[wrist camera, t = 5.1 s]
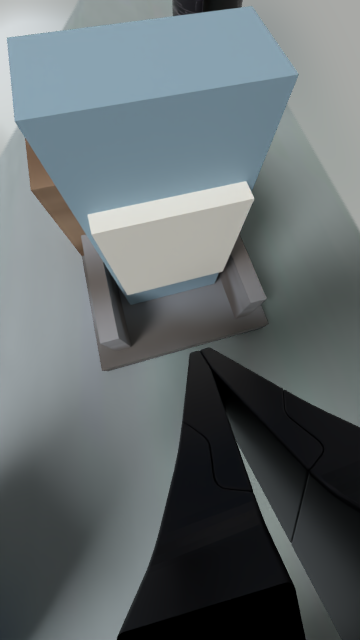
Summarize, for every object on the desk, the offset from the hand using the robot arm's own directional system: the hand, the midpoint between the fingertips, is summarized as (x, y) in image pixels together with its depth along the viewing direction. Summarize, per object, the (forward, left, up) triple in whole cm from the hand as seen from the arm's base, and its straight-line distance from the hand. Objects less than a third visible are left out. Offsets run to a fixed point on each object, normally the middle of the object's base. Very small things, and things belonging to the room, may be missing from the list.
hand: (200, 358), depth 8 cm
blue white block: (+7, 0, -6) cm, 9 cm away
